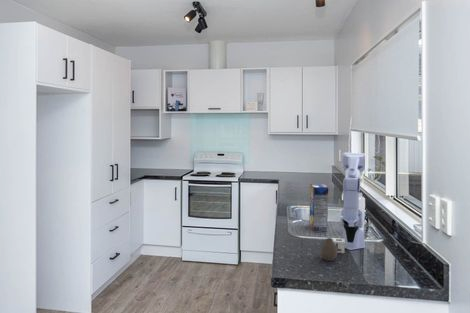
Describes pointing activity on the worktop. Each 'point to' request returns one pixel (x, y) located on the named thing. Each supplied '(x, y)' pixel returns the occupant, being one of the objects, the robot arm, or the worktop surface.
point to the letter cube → (339, 244)
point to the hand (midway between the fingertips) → (349, 239)
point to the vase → (328, 250)
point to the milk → (362, 206)
